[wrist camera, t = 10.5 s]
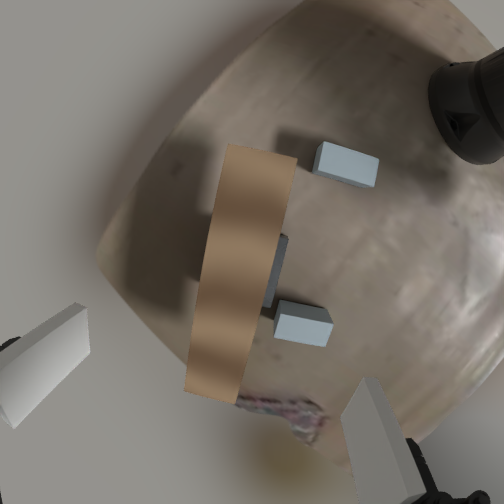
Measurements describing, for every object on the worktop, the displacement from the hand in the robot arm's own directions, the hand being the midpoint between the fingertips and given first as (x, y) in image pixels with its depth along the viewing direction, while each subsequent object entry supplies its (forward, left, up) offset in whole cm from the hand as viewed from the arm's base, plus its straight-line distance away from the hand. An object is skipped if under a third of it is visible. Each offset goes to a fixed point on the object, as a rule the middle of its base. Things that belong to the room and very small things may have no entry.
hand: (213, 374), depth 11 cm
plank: (0, -1, -14) cm, 14 cm away
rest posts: (-4, +7, -21) cm, 22 cm away
